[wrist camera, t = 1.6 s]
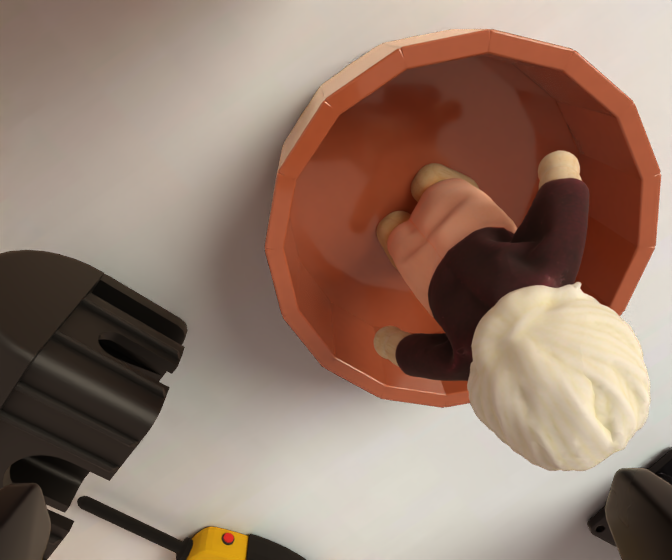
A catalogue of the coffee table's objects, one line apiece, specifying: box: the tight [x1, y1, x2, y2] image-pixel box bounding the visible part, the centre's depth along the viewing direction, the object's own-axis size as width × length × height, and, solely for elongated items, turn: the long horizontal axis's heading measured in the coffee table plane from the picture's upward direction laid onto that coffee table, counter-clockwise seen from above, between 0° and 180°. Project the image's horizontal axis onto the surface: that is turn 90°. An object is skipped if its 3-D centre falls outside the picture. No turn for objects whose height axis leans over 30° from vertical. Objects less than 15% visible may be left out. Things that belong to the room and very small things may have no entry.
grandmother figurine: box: [374, 151, 651, 471], centre depth 15 cm, size 8×4×13 cm, turn 153°
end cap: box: [0, 250, 188, 560], centre depth 20 cm, size 10×7×7 cm
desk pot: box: [265, 29, 661, 408], centre depth 19 cm, size 12×12×4 cm
